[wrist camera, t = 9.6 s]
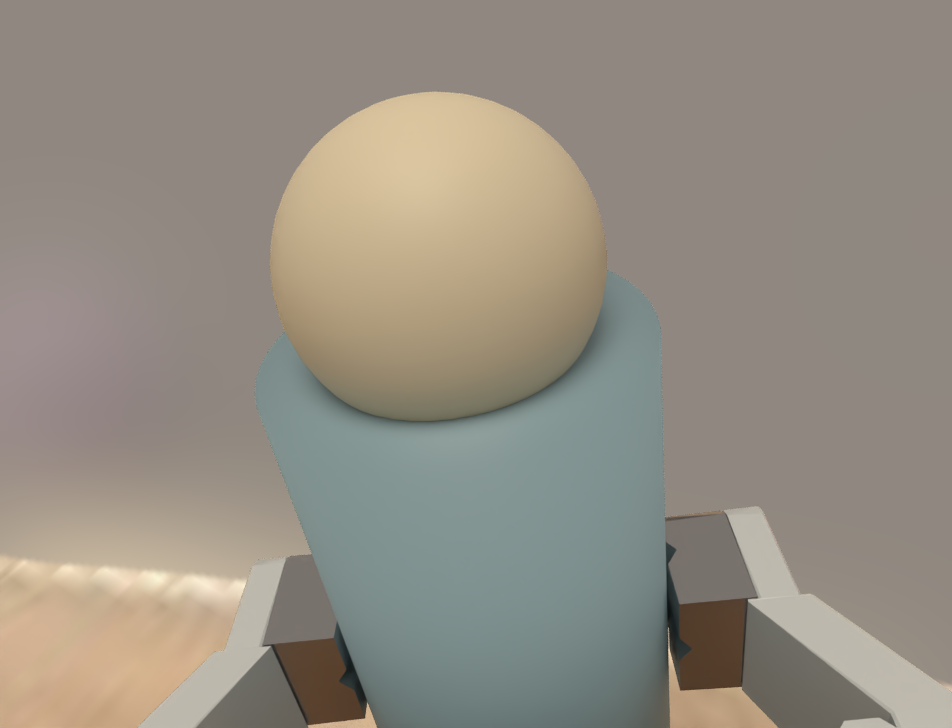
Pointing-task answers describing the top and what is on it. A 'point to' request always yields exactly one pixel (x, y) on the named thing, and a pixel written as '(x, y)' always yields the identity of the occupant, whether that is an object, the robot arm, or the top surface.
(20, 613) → the top surface
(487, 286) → the skittle
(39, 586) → the top surface
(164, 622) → the top surface
